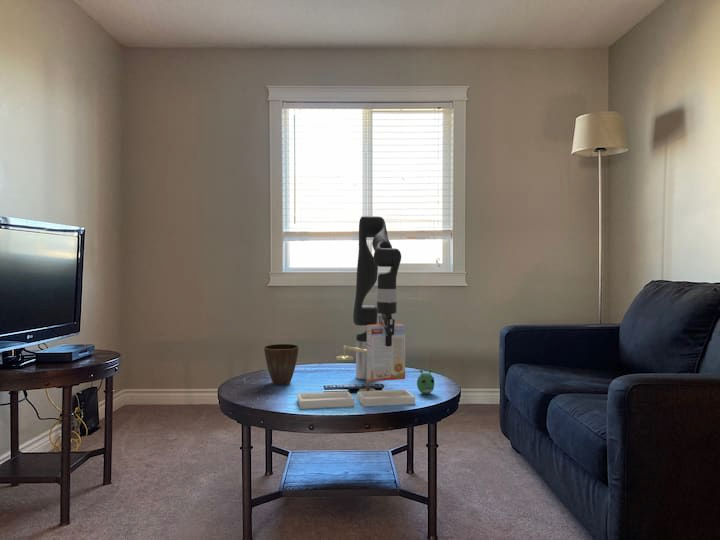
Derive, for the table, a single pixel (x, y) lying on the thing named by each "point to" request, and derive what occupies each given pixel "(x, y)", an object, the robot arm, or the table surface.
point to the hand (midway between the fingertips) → (386, 344)
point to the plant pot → (281, 362)
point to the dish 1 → (325, 399)
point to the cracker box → (385, 353)
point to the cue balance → (351, 359)
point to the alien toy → (425, 382)
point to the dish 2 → (385, 397)
